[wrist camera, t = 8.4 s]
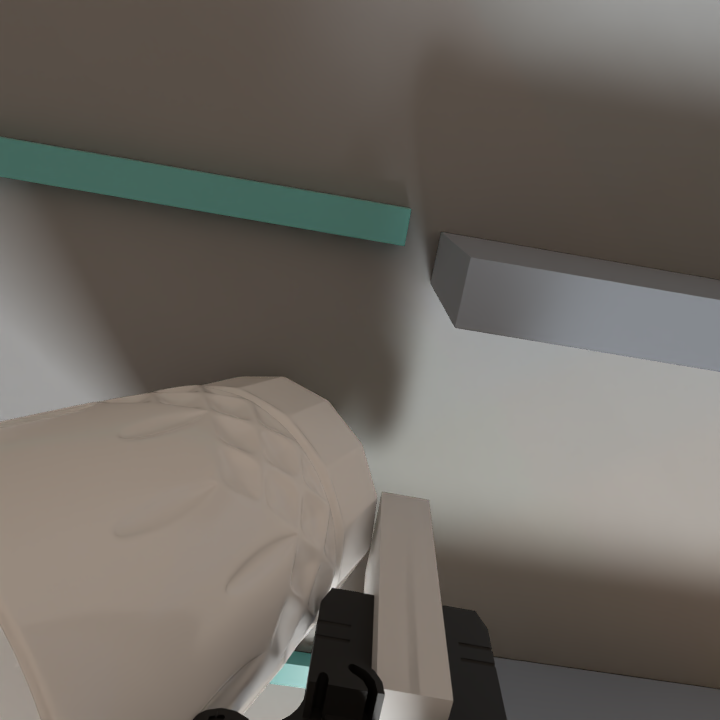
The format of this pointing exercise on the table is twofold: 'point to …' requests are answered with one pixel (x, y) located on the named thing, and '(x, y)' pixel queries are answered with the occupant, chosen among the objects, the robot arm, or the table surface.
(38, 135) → the table surface
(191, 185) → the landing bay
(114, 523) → the white cup
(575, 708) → the walled channel
